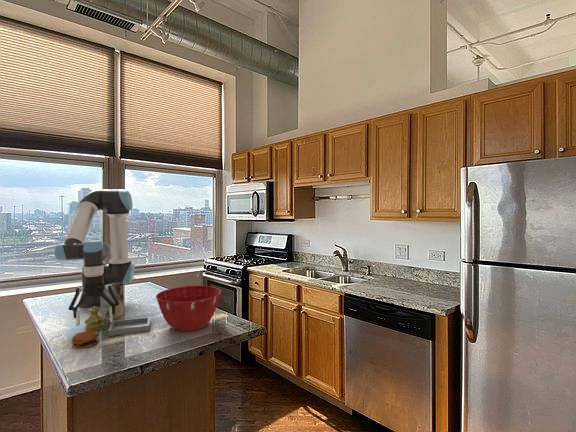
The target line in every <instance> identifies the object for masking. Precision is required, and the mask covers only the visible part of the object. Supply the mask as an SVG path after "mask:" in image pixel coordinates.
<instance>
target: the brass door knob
mask: <svg viewBox="0 0 576 432" xmlns="http://www.w3.org/2000/svg"><path fill="white" fill-rule="evenodd" d="M87 312H88V313H89V314H90V315H89V316H88V317H87V318H86V319H85V320H84V323H85V325H84V330H85V331H84V332H86V331H96V332H98V330H99V331H101V330H103V329H104V328H105V322H104V321H105V319H104V318H103V317H101V314H99V312H101V307H100V306H94V307H89V308H88V309H87Z"/></svg>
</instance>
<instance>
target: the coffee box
mask: <svg viewBox="0 0 576 432" xmlns="http://www.w3.org/2000/svg"><path fill="white" fill-rule="evenodd" d="M110 284H111V285H112V290H113V291H114V293H115V295H116V297H117V299H118V300H119V302H120V303H119V305H117V306H115V314H113V320H115V319H116V318H118V317H121V316H123V315H124V314H125V296H124V295H125V294H124V293H125V292H124V287H125V286H124V284H123V283H110ZM110 284H107V285H110ZM107 285H105V286H107ZM103 292H104V293H105V294H106V295H107V296H108V297H109V298H110V299H111V300H112V301H113V302H114V300H113V298H112V296H111V295H110V293H109V290H107V289H106V288H105V289H104V290H103ZM100 300H101V306H100V308H101V310H100V316H101V317H103V318H104V320H110V307H111V306H110V305H109V304H108V303H107V301H106V300H105V299H104V298H103V297H101V296H100ZM114 303H115V302H114Z"/></svg>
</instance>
